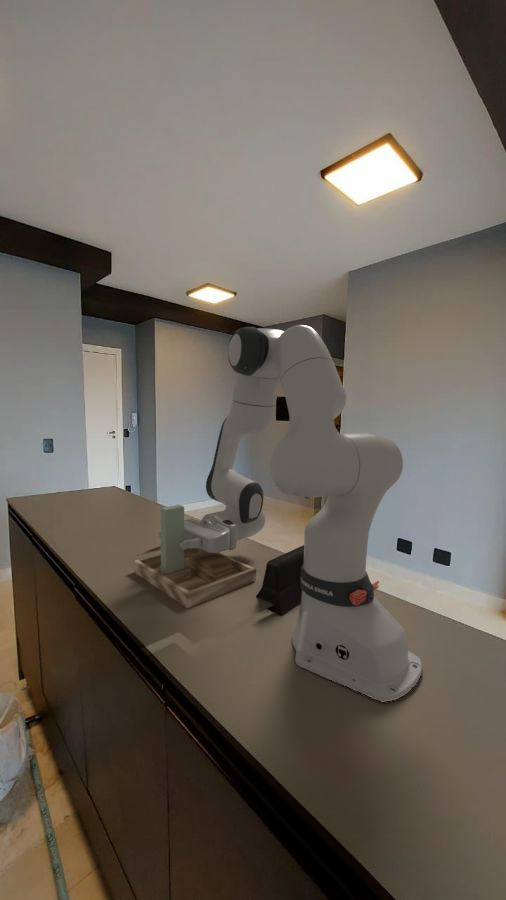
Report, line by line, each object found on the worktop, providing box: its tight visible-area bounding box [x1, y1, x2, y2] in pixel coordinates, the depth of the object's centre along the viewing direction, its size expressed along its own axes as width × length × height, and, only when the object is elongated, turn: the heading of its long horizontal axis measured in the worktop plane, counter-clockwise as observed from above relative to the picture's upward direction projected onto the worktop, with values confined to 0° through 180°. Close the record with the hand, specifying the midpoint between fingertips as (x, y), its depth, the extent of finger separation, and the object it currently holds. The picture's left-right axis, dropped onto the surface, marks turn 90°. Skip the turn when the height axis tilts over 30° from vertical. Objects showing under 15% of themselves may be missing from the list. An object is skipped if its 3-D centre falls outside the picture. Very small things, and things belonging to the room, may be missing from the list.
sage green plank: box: [160, 504, 185, 575], centre depth 90 cm, size 2×5×18 cm, turn 134°
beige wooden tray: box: [133, 548, 257, 609], centre depth 93 cm, size 24×20×4 cm
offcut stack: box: [184, 551, 237, 583], centre depth 95 cm, size 14×7×4 cm, turn 44°
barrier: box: [255, 544, 304, 617], centre depth 90 cm, size 24×9×10 cm, turn 140°
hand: (169, 540), depth 90 cm, fingers open, 8 cm apart
